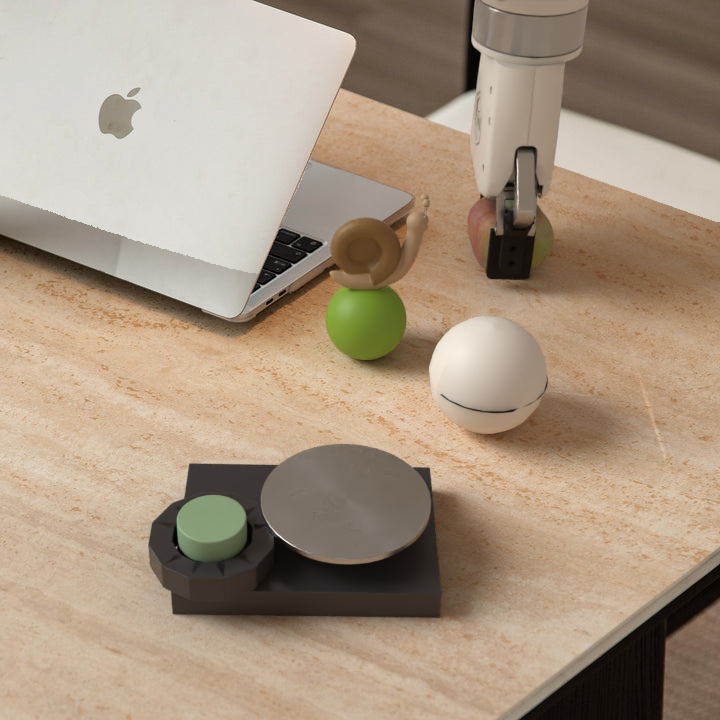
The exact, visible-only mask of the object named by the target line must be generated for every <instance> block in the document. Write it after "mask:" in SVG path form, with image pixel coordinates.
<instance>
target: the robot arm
mask: <svg viewBox="0 0 720 720" xmlns="http://www.w3.org/2000/svg"><path fill="white" fill-rule="evenodd" d="M589 2H590V0H474V7H473V19H472V31H471V39H470V41H471V44H472V46H473V48H474V49H476V50H477V51H478V52H479V53H480V59H479V64H478V72H477V80H476V89H475V96H474V105H473V113H472V119H471V126H470V134H469V147H470V148H469V149H470V155H471V161H472V162H471V163H472V167H473V172H474V177H475V182H476V186H477V191H478V192H479V193H480V195H479V196H480V197H479V199H481V198H482V197H485V198H489V196H496V215H495V228H490V238H489V247H488V257H487V266H486V269H485V274H486V277H487V279H488V280H506V281H507V280H509V281H510V280H511V281H526V280H528V279H530V277H531V273H532V272H531V271H532V270H531V265H532V258H533V250H534V242H535V235H536V232H535V226H536V209H537V205H538V199H544V197H546V196H548V194H549V192H550V188H551V184H552V178H553V174H554V166H555V160H556V153H557V145H558V138H559V130H560V118H561V109H562V102H563V101H562V100H563V95H564V79H565V69H566V63H567V62H569V61H572V60H574V59H576V58H577V57H579V56H580V55H581V53H582V51H583V47H584V37H585V31H586V24H587V17H588V10H589V4H590V3H589ZM505 187H514V190H504V188H505ZM506 200H514V207H513V211H508V212H507V214H506V215H505V204H506Z"/></svg>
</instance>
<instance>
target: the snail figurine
mask: <svg viewBox="0 0 720 720" xmlns="http://www.w3.org/2000/svg"><path fill="white" fill-rule="evenodd" d="M420 199H421V201H422V202H421V204H422V207H424V208H423V211H419V210H417V211H413V212H411V213H410V214H409V215H408V216H407V218H406V228H407V230H406V235H405V237H404V239H403V241H402V244H401V242H400V237H398V235H397V233H396V231H395V230H394V229H393V228H392V226H390V225H389V224H387V223H386V222H384V221H382V220H381V219H378V218H375V217H374V218H373V217H357V218H352V219H350V220H349V221H346V222H344V223H343V224H342V225H341V226H339V227H338V229H337V230H335V232H334V234H333V235H332V238H331V241H330V247H329V250H330V251H329V252H330V257H331V258H332V261H333V262H334V263H335V264H336V266H337V267H339V268H340V269H341V270H330V271H329V276H330V277H331V278H332V279H333V280H334V281H335V282H336V283H337V284H339V285H340V286H341V287H340V288H339V289H337V291H335V293H333V295H332V296H331V297H330V300H329V302H328V304H327V307H326V311H325V327H326V332H327V335H328V337H329V339H330V341H331V342H332V344H333V345H334V346H335V347H336V349H337V350H339V351H340V352H341V353H343V354H344V355H346V356H348V357H350V358H352V359H355V360H358V361H359V360H360V361H373V360H376V359H380V358H383V357H384V356H386V355H388V354H390V353H391V352H392V351H393V350H395V349H396V348H397V346H398V345H399V344H400V342H401V341H402V340H403V338H404V335H405V333H406V329H407V321H408V319H407V318H408V317H407V310H406V307H405V304H404V301H403V300H402V298H401V296H400V295H399V294H398V292H396V290H395V289H393V288H392V287H391V286H390V285H392V284H394V283H397V282H399V281H400V280H402V279H403V278H404V277H405V276H406V275H408V273H409V271H410V270H411V268H412V267H413V265H414V263H415V261H416V259H417V256H418V254H419V251H420V249H421V245H422V243H423V238H424V234H425V232H426V230H427V229H428V227H429V225H428V223H429V222H430V218H429V216H428V215H427V214H428V208H430V206H431V200H430V195H429V194H428V193H423V194H421V197H420Z"/></svg>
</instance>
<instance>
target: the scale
mask: <svg viewBox="0 0 720 720" xmlns="http://www.w3.org/2000/svg"><path fill="white" fill-rule="evenodd" d="M278 465H279V464H257V463H256V464H254V463H253V464H251V463H249V464H248V463H240V464H239V463H199V462H198V463H197V462H196V463H195V462H194V463H193V462H190V463H189V464H188V469H187V474H186V484H185V489H184V491H185V492H184V495H183V496H184V497H183V498H182V499H179V500H176V501H172V503H170V504H169V505H168V506H167V507H166V508H165V509H164V510H163V511H162V512H161V513H160V514H159V515H158V516H157V517H156V518H155V519H154V520H153V521H152V522H151V526H150V532H149V538H148V543H147V544H148V545H147V547H148V559H149V567H150V569H151V570H152V572H153V574H154V575H155V577H156V578H157V580H158V582H159V583H160V584H161V586H162V587H163V588H164V589H165V590H167V591H170V597H171V611H172V612H171V613H172V615H176V616H177V615H178V616H179V615H181V616H182V615H185V616H186V615H187V616H189V615H190V616H252V617H253V616H254V617H255V616H261V617H264V616H265V617H267V616H268V617H331V618H332V617H333V618H339V617H341V618H342V617H343V618H408V619H409V618H411V619H412V618H415V619H416V618H418V619H423V618H424V619H425V618H426V619H438V618H440V615H441V606H442V594H443V591H442V582H441V581H442V579H441V572H440V571H441V570H440V561H439V560H440V559H439V549H438V540H437V528H436V518H435V507H434V496H433V486H432V484H433V483H432V474H431V467H429V466H428V467H427V466H426V467H425V466H424V467H423V466H412V467H413V468H414V469H415V470H416V471H417V472H418V473H419V475H420V476H421V477H422V478H423V480H424V482H425V483H426V485H427V488H428V490H429V493H430V498H431V511H430V517H429V521H428V523H427V525H426V528H425V529H424V531H423V532H422V534H421V535H420V536H419V537H418V538H417V540H416V541H415V542H413V543H412V544H411V545H410V546H409V547H407V548H406V549H404V550H403V551H401V552H399V553H397V554H395V555H393V556H391V557H388V558H385V559H382V560H379V561H374V562H370V563H363V564H347V565H346V564H333V563H326V562H321V561H317V560H314V559H310V558H308V557H305V556H302V555H300V554H298V553H296V552H294V551H292V550H291V549H289V548H288V547H286V546H285V545H283V544H282V543H281V542H280V541H279V540H277V539H276V538H275V536H274V535H273V534H272V533H271V532H270V530H269V529H268V527H267V526H266V524H265V522H264V519H263V517H262V512H261V492H262V488H263V486H264V483H265V481H266V479H267V478H268V476H269V475H270V473H271V472H272V471H273V470H274V469H275V468H276V467H277V466H278ZM206 495H221V496H226V497H229V498H231V499H233V500H235V501H237V502H238V503H239V504H240V505H241V506H242V507H243V509H244V510H245V512H246V517H247V541H246V544H245V546H244V548H243V549H242V551H241V552H240V553H239V554H238V555H236V556H235V557H233V558H231V559H229V560H226V561H224V562H219V563H202V562H198V561H195V560H193V559H191V558H189V557H188V556H186V555H185V554H184V553H183V552H182V550H181V549H180V547H179V544H178V533H177V516H178V513H179V511H180V510H181V508H182V507H183V506H184V505H185V504H186V503H188V502H189V501H191V500H193V499H195V498H198V497H201V496H206Z"/></svg>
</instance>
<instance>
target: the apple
mask: <svg viewBox="0 0 720 720" xmlns="http://www.w3.org/2000/svg"><path fill="white" fill-rule="evenodd" d="M504 190H514V187H505V188H504ZM513 207H514V200H506V204H505V215H506V214H507V212H508V211H513ZM495 215H496V196H489V198H485V197H482V198H481V199H480V198H479V199H478V200H477V201H475V203H474V204H473V205H472V206H471V208H470V209H469V212H468V215H467V220H466V221H467V222H466V227H467V234H468V240H469V242H470V247H471V250H472V253H473V255H474V258H475V259H476V261H477V263H478V265H480V266H481V267H482V268H484V269H485V270H486V266H487V257H488V247H489V238H490V228H495ZM535 232H536V235H535V242H534V250H533V258H532V265H531V271H532V270H534V269H536V268H537V267H538V266H539V265H540V264H542V263H543V261H545V260H546V259H547V258H548V257H549V255H550V254H551V252H552V250H553V248H554V245H555V235H554V229H553V226H552V224H551V221H550V219H549V218H548V216H547V215H546V214H545V213H544V212H543V210H542V209H541V207H540V206H539V205H538V204H537V209H536V226H535Z"/></svg>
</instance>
